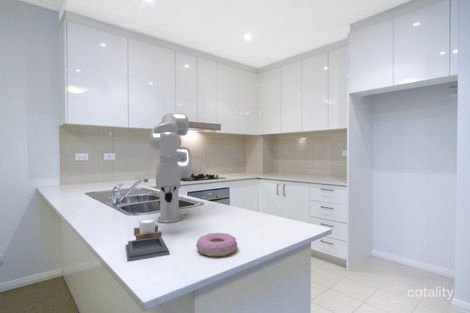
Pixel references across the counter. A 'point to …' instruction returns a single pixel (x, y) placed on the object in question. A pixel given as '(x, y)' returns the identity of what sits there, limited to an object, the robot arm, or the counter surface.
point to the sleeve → (146, 234)
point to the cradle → (146, 248)
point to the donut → (216, 244)
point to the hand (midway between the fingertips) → (168, 201)
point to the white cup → (147, 226)
